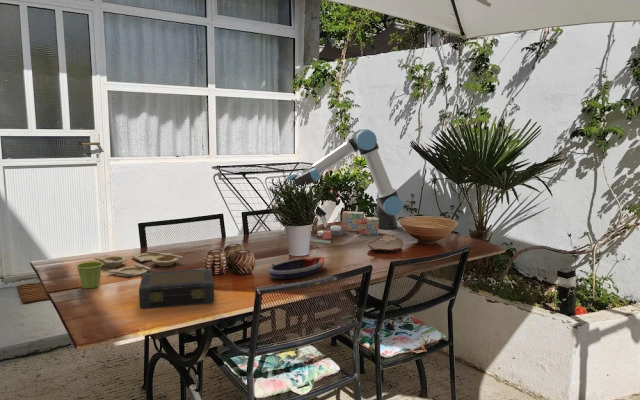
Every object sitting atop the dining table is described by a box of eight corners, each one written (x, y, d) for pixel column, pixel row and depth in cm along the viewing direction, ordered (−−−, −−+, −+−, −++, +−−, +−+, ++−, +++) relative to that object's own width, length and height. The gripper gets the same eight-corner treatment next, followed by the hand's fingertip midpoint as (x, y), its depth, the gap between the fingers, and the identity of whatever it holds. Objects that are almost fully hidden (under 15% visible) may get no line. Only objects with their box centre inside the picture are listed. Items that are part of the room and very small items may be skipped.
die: (331, 237, 276) (331, 230, 276) (330, 239, 272) (330, 231, 272) (324, 237, 277) (324, 229, 276) (322, 239, 273) (323, 231, 272)
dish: (258, 276, 208) (258, 264, 207) (312, 263, 229) (313, 252, 228) (282, 285, 197) (282, 272, 196) (336, 270, 218) (336, 259, 217)
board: (346, 235, 289) (346, 228, 289) (331, 243, 267) (331, 236, 267) (319, 232, 296) (319, 225, 295) (302, 240, 274) (303, 233, 273)
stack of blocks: (378, 233, 297) (379, 212, 295) (376, 235, 291) (377, 214, 289) (344, 230, 303) (344, 210, 301) (341, 232, 297) (341, 212, 295)
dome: (342, 231, 287) (342, 225, 286) (338, 233, 281) (338, 227, 281) (332, 231, 289) (332, 225, 289) (329, 232, 284) (329, 226, 283)
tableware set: (122, 281, 200) (121, 271, 200) (85, 268, 218) (84, 259, 217) (192, 263, 228) (192, 254, 227) (154, 253, 246) (154, 245, 245)
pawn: (319, 235, 282) (319, 215, 280) (316, 236, 277) (316, 216, 276) (311, 234, 284) (311, 214, 282) (308, 236, 279) (308, 216, 277)
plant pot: (96, 281, 198) (95, 260, 197) (108, 286, 192) (107, 264, 191) (73, 286, 191) (71, 265, 190) (84, 292, 185) (83, 269, 184)
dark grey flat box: (211, 286, 194) (211, 267, 193) (214, 304, 175) (214, 283, 173) (143, 291, 187) (143, 271, 186) (139, 310, 168) (138, 288, 167)
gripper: (316, 200, 298) (331, 228, 288) (281, 203, 283) (296, 233, 273) (321, 192, 293) (337, 221, 283) (286, 195, 278) (301, 225, 268)
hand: (317, 227), depth 278 cm, fingers open, 13 cm apart
